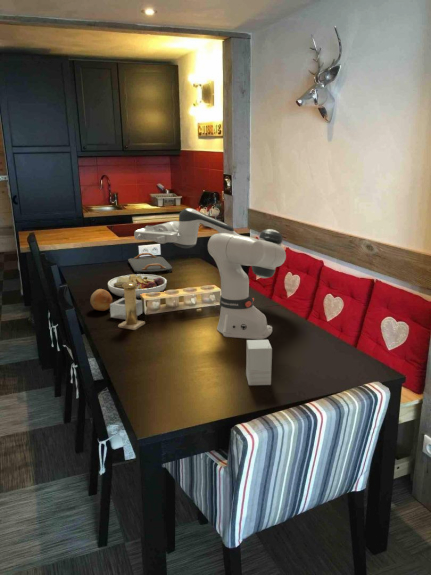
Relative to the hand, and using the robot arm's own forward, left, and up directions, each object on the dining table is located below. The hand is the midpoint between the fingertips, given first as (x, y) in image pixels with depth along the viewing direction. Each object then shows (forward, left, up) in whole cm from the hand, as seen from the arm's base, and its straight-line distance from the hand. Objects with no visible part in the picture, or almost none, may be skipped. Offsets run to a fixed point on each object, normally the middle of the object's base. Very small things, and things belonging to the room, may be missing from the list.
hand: (147, 238), depth 212 cm
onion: (+20, +9, -33) cm, 40 cm away
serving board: (+42, -70, -34) cm, 89 cm away
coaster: (-3, +20, -33) cm, 39 cm away
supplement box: (-67, +46, -33) cm, 88 cm away
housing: (+6, +10, -33) cm, 35 cm away
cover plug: (-3, +20, -32) cm, 38 cm away
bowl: (+22, -25, -33) cm, 47 cm away
